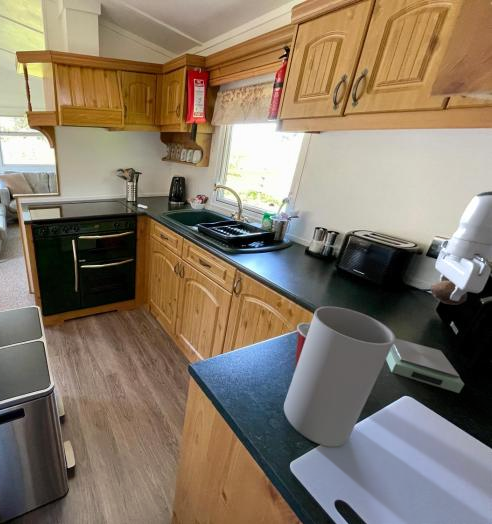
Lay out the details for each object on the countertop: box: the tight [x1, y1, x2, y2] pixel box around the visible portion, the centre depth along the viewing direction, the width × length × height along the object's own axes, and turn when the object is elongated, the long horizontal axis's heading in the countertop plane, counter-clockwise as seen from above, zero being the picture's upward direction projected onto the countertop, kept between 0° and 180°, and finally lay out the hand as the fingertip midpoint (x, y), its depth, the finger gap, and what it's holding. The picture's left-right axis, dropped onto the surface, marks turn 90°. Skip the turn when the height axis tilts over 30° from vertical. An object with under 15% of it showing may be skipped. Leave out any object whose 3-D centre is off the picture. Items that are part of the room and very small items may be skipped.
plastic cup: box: [295, 322, 311, 368], centre depth 76 cm, size 11×11×12 cm
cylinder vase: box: [283, 306, 396, 447], centre depth 58 cm, size 12×12×25 cm
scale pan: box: [392, 337, 460, 378], centre depth 81 cm, size 12×12×1 cm
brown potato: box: [429, 280, 468, 306], centre depth 85 cm, size 8×8×6 cm
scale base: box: [385, 346, 465, 394], centre depth 82 cm, size 14×14×4 cm
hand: (447, 294), depth 85 cm, fingers closed on brown potato, 6 cm apart
